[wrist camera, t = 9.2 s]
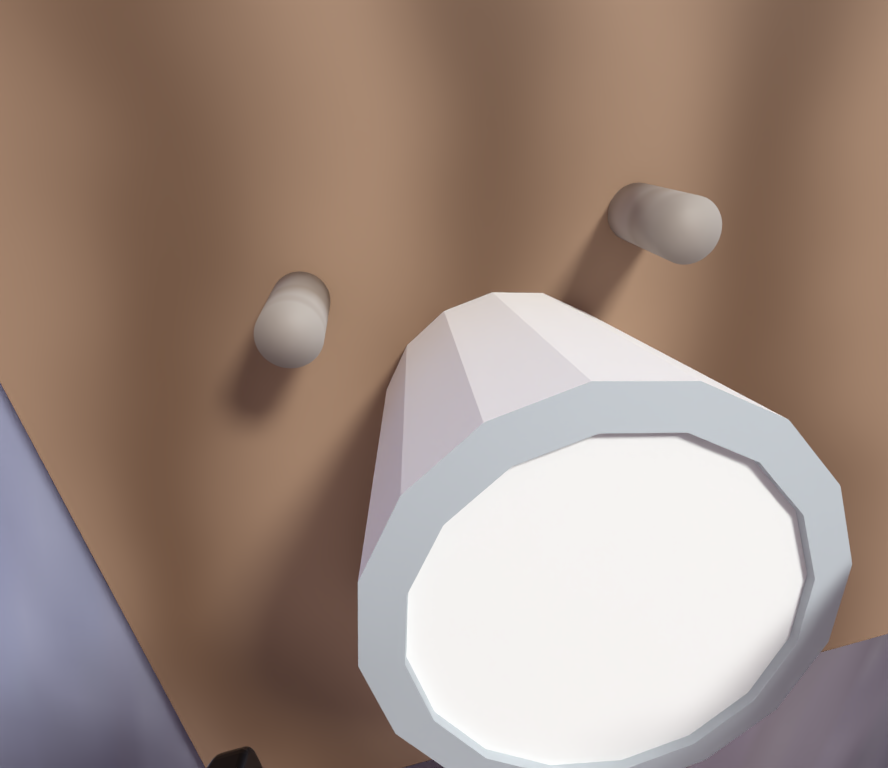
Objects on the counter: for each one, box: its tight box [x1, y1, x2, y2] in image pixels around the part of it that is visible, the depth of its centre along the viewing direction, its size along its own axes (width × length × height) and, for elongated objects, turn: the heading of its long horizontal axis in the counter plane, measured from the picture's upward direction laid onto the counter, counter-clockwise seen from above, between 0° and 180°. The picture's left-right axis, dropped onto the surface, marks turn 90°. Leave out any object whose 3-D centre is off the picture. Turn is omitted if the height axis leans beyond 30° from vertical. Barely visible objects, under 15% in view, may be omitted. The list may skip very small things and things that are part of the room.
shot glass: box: [358, 292, 852, 768], centre depth 12 cm, size 7×7×7 cm
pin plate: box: [0, 0, 888, 768], centre depth 15 cm, size 20×20×4 cm
